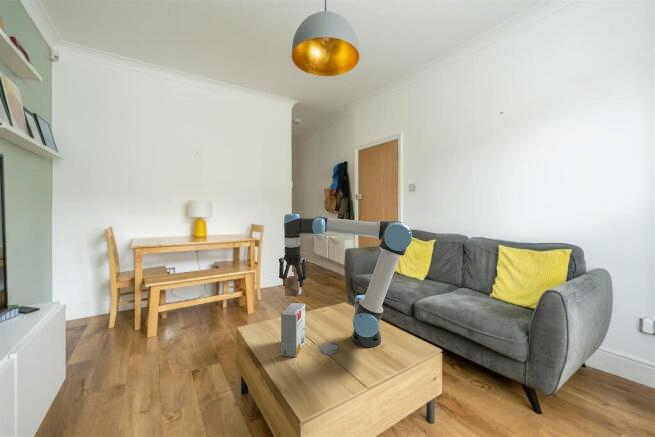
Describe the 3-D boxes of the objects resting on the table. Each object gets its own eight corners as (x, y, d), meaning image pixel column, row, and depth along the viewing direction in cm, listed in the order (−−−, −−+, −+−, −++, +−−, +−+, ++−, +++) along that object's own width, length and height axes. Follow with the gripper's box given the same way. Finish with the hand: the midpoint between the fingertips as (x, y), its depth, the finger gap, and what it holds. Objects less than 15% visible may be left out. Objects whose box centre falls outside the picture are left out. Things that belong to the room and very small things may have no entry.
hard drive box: (296, 358, 124) (295, 315, 122) (280, 356, 125) (280, 314, 124) (305, 340, 139) (305, 303, 138) (291, 339, 140) (291, 302, 139)
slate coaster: (339, 346, 134) (339, 344, 134) (336, 356, 125) (336, 354, 125) (322, 344, 136) (322, 342, 136) (317, 353, 128) (317, 352, 127)
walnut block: (300, 292, 132) (300, 276, 132) (296, 296, 127) (296, 279, 126) (289, 291, 134) (289, 275, 133) (284, 295, 128) (284, 279, 127)
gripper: (313, 245, 130) (314, 292, 132) (277, 244, 135) (278, 289, 136) (308, 247, 123) (309, 297, 124) (270, 246, 127) (271, 294, 129)
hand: (293, 293), depth 130 cm, fingers closed on walnut block, 6 cm apart
